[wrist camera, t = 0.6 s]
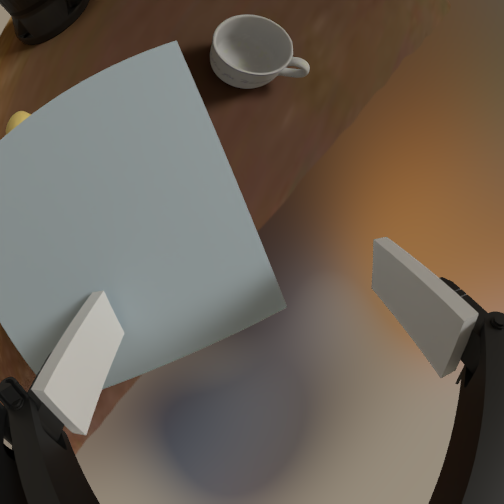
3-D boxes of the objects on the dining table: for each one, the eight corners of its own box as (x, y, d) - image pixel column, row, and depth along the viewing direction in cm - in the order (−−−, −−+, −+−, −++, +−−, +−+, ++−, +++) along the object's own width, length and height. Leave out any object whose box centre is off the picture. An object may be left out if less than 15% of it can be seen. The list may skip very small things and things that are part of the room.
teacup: (192, 74, 33) (196, 50, 25) (228, 28, 32) (239, 1, 24) (273, 117, 37) (294, 103, 30) (301, 69, 36) (325, 50, 29)
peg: (44, 137, 28) (3, 122, 17) (62, 124, 29) (25, 104, 18) (50, 156, 30) (9, 148, 18) (69, 144, 30) (31, 130, 19)
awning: (72, 187, 32) (-50, 194, 8) (176, 133, 34) (176, 40, 10) (118, 284, 37) (60, 403, 13) (219, 234, 39) (287, 307, 15)
